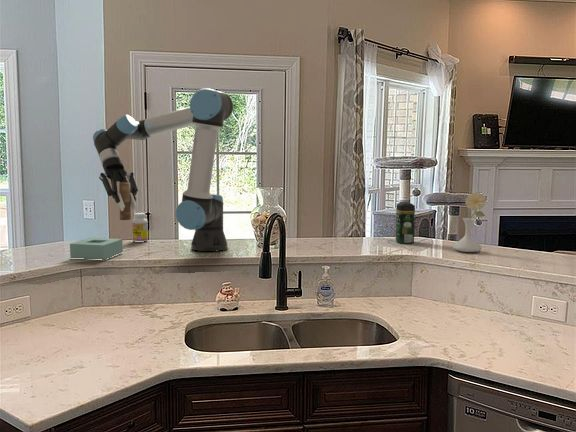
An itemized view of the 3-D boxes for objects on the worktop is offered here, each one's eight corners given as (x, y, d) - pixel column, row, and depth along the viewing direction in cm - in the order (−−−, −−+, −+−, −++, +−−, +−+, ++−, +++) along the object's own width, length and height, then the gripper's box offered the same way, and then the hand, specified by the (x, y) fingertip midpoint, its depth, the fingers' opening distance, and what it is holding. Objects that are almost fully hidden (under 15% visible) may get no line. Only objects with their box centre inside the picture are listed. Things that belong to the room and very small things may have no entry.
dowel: (132, 218, 210) (132, 182, 208) (127, 220, 206) (127, 183, 204) (123, 218, 210) (122, 182, 209) (117, 219, 207) (117, 183, 205)
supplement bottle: (129, 242, 243) (128, 213, 241) (140, 240, 249) (139, 212, 247) (140, 243, 240) (140, 214, 238) (151, 241, 246) (150, 213, 244)
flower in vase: (447, 251, 227) (450, 191, 224) (462, 248, 234) (465, 190, 231) (475, 255, 217) (479, 193, 214) (490, 252, 224) (494, 192, 221)
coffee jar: (393, 240, 252) (395, 200, 250) (410, 240, 252) (412, 200, 250) (397, 244, 242) (399, 202, 240) (415, 244, 242) (417, 203, 240)
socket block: (122, 253, 216) (122, 239, 215) (104, 261, 202) (104, 245, 202) (90, 252, 219) (90, 237, 218) (70, 259, 205) (69, 243, 204)
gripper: (129, 168, 223) (147, 213, 212) (87, 169, 212) (104, 215, 202) (134, 156, 218) (153, 201, 208) (92, 155, 207) (109, 203, 197)
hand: (129, 208), depth 205 cm, fingers closed on dowel, 4 cm apart
